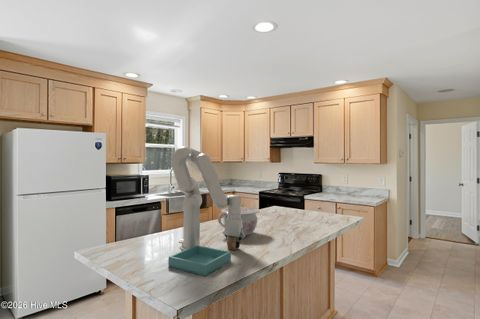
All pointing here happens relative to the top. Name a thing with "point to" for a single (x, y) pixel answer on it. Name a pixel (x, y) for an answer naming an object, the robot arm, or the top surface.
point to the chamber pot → (243, 219)
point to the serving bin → (199, 260)
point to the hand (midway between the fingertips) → (233, 246)
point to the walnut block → (232, 243)
